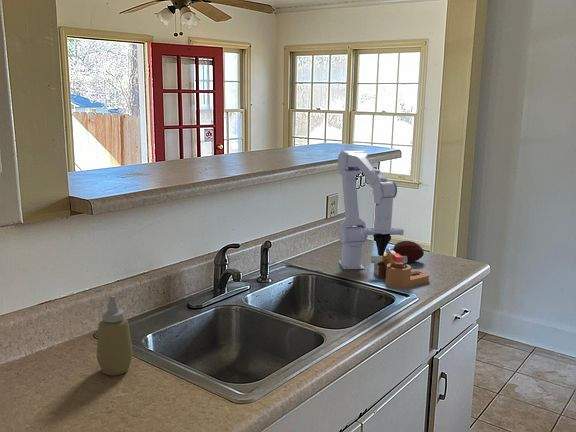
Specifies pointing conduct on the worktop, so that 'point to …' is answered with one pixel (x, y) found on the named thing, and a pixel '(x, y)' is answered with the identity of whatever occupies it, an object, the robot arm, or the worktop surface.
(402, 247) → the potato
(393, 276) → the bracket
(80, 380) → the worktop surface
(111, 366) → the squeeze bottle
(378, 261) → the brass valve
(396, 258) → the valve lever
